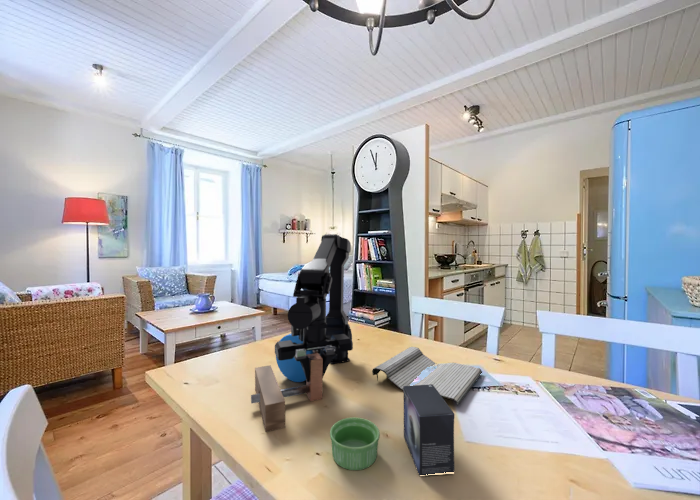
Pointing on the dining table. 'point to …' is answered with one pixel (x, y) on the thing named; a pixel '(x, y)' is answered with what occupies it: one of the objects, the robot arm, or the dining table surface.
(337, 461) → the ramekin
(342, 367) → the dining table surface
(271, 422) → the beam
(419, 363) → the mat
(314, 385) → the pin
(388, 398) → the dining table surface
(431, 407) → the small box
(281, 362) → the alarm clock
